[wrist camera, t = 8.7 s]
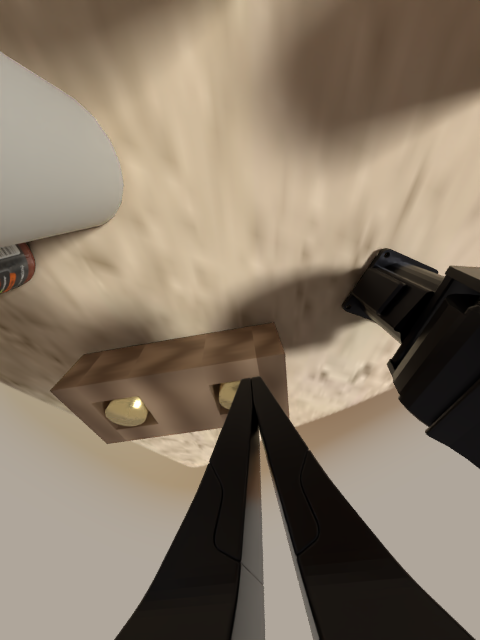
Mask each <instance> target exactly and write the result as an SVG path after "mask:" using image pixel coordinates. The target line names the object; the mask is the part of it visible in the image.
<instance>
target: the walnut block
mask: <svg viewBox="0 0 480 640" xmlns="http://www.w3.org/2000/svg"><path fill="white" fill-rule="evenodd" d="M256 376H260V377H261V378H262V379H263V381H264V382H265V384H266V385H267V387H268V388H269V390H270V391H271V393H272V394H273V396H274V397H275V399H276V400H277V402H278V403H279V405H280V406H281V408H282V409H283V411H284V412H285V414H286V415H287V417H288V418H289V405H288V391H287V377H286V362H285V352H284V350H283V347H282V344H281V341H280V338H279V335H278V332H277V329H276V327H275V324H274V322H273V323H267V324H261V325H255V326H249V327H243V328H238V329H232V330H226V331H220V332H214V333H208V334H202V335H196V336H190V337H184V338H178V339H172V340H166V341H161V342H155V343H149V344H143V345H137V346H131V347H125V348H119V349H113V350H107V351H101V352H95V353H90V354H84V355H83V356H82V357H81V358H80V359H79V360H78V361H77V362H76V363H75V364H74V366H73V367H72V368H71V369H70V370H69V371H68V372H67V373H66V374H65V375H64V376H63V377H62V378H61V380H60V381H59V382H58V383H57V384H56V385H55V386H54V387H53V388H52V389H51V390H50V391H51V392H52V393H53V394H54V395H55V396H56V397H57V398H58V399H59V400H60V401H61V402H62V403H64V404H65V405H66V406H67V407H68V408H69V409H70V410H71V411H72V412H73V413H74V414H75V415H76V416H78V417H79V418H80V419H81V420H82V421H83V422H84V423H85V424H86V425H87V426H88V427H89V428H90V429H92V430H93V431H94V432H95V433H96V434H97V435H98V436H99V437H101V439H102V440H104V441H105V442H106V443H107V444H110V443H117V442H124V441H131V440H138V439H145V438H152V437H160V436H167V435H174V434H181V433H188V432H195V431H202V430H210V429H217V428H222V427H223V425H224V422H225V419H226V417H227V414H228V412H229V409H226V408H225V407H223V406H222V405H221V404H220V402H219V386H220V383H226V382H232V381H239V380H241V379H243V378H252V377H256ZM135 396H139V397H140V399H141V400H142V401H143V403H144V404H145V406H146V407H147V408H148V410H149V412H148V414H147V417H146V420H145V421H144V422H143V423H142V424H140V425H137V426H122V425H119V424H116V423H114V422H112V421H110V420H109V419H108V418H107V417H106V415H105V410H106V408H107V407H108V405H109V403H110V402H111V400H115V399H122V398H128V397H135Z"/></svg>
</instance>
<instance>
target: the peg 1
mask: <svg viewBox="0 0 480 640" xmlns="http://www.w3.org/2000/svg"><path fill="white" fill-rule="evenodd" d="M148 412H149V410H148V408H147V407H146V406H145V404H144V403H143V401H142V400H141V399H140V397H139V396H135V397H128V398H122V399H115V400H111V402H110V403H109V405H108V407H107V408H106V410H105V415H106V417H107V418H108V419H109V420H110V421H112V422H114V423H116V424H119V425H122V426H137V425H140V424H142V423H143V422H144V421H145V420H146V417H147V414H148Z"/></svg>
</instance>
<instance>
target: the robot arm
mask: <svg viewBox="0 0 480 640" xmlns="http://www.w3.org/2000/svg"><path fill="white" fill-rule="evenodd" d="M385 253H387V255H386V256H384V255H385ZM445 274H446V276H445V277H444V276H441V275H439V274H438V271H437V270H436V269H434V268H431V267H429V266H427V265H425V264H422V263H420V262H418V261H416V260H414V259H411V258H409V257H407V256H405V255H402V254H400V253H398V252H396V251H393V250H391V249H388V248H385V249H382V250H381V251H380V252H379V254H378V255H377V257H376V258H375V259H374V261H373V262H372V264H371V265H370V266H369V268H368V269H367V271H366V272H365V273H364V275H363V276H362V278H361V279H360V280H359V282H358V283H357V285H356V286H355V288H354V289H353V290H352V292H351V293H350V295H349V296H348V297H347V299H346V300H345V302H344V303H343V305H342V308H343V309H344V310H345V311H347V312H350V313H352V314H355V315H358V316H361V317H364V318H367V319H370V320H373V321H375V322H376V323H377V324H378V325H380V326H381V327H382V328H383V329H384V330H385V331H387V332H388V333H389V334H390V335H391V336H392V337H393V338H395V339H396V340H397V341H398V342H399V343H400V344H401V345H400V347H399V348H398V350H397V352H396V353H395V355H394V356H393V358H392V359H390V360H389V361H388V363H387V366H388V368H389V370H390V373H391V375H392V377H393V383H394V385H395V387H396V389H397V391H398V393H399V394H400V396H399V398H398V399H399V400H400V402H401V403H402V404H403V405H404V406H405V408H406V409H407V410H408V411H409V412H410V413H411V414H413V415H414V416H415V417H416V418H417V419H418V420H419V421H421V422H422V423H424V424H425V425H426V426H428V427H429V428H428V429H426V431H425V433H426V434H427V435H428V436H429V437H431V438H433V439H435V440H437V441H439V442H441V443H443V444H445V445H446V446H448V447H450V448H451V449H453V450H454V451H456V452H457V453H459V454H461V455H462V456H464V457H465V458H466V459H468V460H469V461H470V462H472V463H473V464H474V465H475V466H477V467H478V468H479V469H480V267H464V266H449V268H448V269H447V271H446V273H445ZM348 305H349V306H348ZM347 306H348V307H347ZM346 307H347V308H346ZM259 430H260V434H261V439H262V442H263V446H264V450H265V454H266V458H267V462H268V466H269V470H270V473H271V477H272V481H273V485H274V488H275V493H276V497H277V501H278V504H279V508H280V512H281V516H282V519H283V524H284V527H285V531H286V535H287V539H288V543H289V546H290V551H291V555H292V558H293V562H294V566H295V570H296V574H297V578H298V581H299V586H300V589H301V593H302V597H303V601H304V605H305V609H306V612H307V616H308V621H309V624H310V628H311V632H312V636H313V640H475V639H474V638H473V637H472V636H471V635H470V634H469V633H468V632H467V631H466V630H465V629H464V628H463V627H462V626H461V625H460V624H459V623H458V622H457V621H456V620H454V619H453V618H452V617H451V616H450V615H449V614H448V613H447V612H446V611H445V610H444V609H443V608H442V607H441V606H440V605H439V604H438V603H437V602H436V601H435V600H434V599H432V598H431V596H430V595H428V594H427V593H426V592H425V591H424V590H423V589H422V588H421V587H420V586H419V585H418V584H417V583H416V581H415V580H413V578H412V577H411V576H410V575H409V574H408V573H407V572H406V571H405V570H404V569H403V568H402V566H401V565H400V564H399V563H398V562H397V561H396V560H395V558H394V557H393V556H392V555H391V554H390V553H389V551H388V550H387V549H386V548H385V547H384V545H383V544H382V543H381V542H380V541H379V539H378V538H377V537H376V536H375V534H374V533H373V532H372V531H371V529H370V528H369V527H368V526H367V525H366V523H365V522H364V521H363V520H362V518H361V517H360V516H359V515H358V514H357V512H356V511H355V510H354V509H353V507H352V506H351V505H350V504H349V503H348V501H347V500H346V499H345V498H344V496H343V495H342V494H341V493H340V491H339V490H338V489H337V487H336V486H335V485H334V484H333V482H332V481H331V480H330V478H329V477H328V476H327V474H326V473H325V471H324V470H323V468H322V467H321V466H320V464H319V463H318V461H317V460H316V458H315V457H314V455H313V454H312V452H311V451H310V450H309V449H308V447H307V445H306V444H305V442H304V441H303V439H302V438H301V436H300V435H299V433H298V432H297V430H296V429H295V427H294V426H293V424H292V423H291V421H290V420H289V418H288V417H287V415H286V414H285V412H284V411H283V409H282V408H281V406H280V405H279V403H278V402H277V400H276V399H275V397H274V396H273V394H272V393H271V391H270V390H269V388H268V387H267V385H266V384H265V382H264V381H263V379H262V378H261V377H260V376H256V377H252V378H243V379H241V381H240V383H239V386H238V389H237V391H236V394H235V396H234V399H233V401H232V404H231V407H230V409H229V412H228V414H227V417H226V419H225V422H224V425H223V427H222V430H221V432H220V435H219V437H218V440H217V443H216V445H215V448H214V450H213V453H212V455H211V458H210V461H209V462H210V463H209V464H208V465H207V468H206V471H205V473H204V476H203V478H202V480H201V483H200V485H199V488H198V490H197V493H196V495H195V497H194V499H193V501H192V503H191V505H190V508H189V510H188V512H187V514H186V516H185V518H184V520H183V522H182V524H181V526H180V528H179V530H178V532H177V534H176V536H175V538H174V540H173V542H172V544H171V546H170V548H169V550H168V552H167V554H166V556H165V558H164V560H163V562H162V564H161V566H160V568H159V570H158V572H157V574H156V576H155V578H154V580H153V582H152V584H151V585H150V587H149V589H148V591H147V592H146V594H145V596H144V597H143V599H142V601H141V602H140V604H139V605H138V607H137V609H136V610H135V611H134V613H133V614H132V616H131V617H130V619H129V620H128V621H127V623H126V624H125V626H124V627H123V628H122V630H121V631H120V633H119V634H118V635H117V637H116V638H115V639H114V640H265V619H264V586H263V549H262V512H261V478H260V477H261V476H260V439H259Z"/></svg>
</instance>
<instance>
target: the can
mask: <svg viewBox="0 0 480 640" xmlns="http://www.w3.org/2000/svg"><path fill="white" fill-rule="evenodd" d="M123 186H124V184H123V178H122V171H121V165H120V162H119V159H118V157H117V155H116V152H115V150H114V147H113V145H112V142H111V140H110V139H109V137H108V136H107V134H106V133H105V132H104V130H103V129H102V127H101V126H100V124H99V123H98V121H97V120H96V118H95V117H94V116H93V115H92V114H90V113H89V112H88V111H87V110H86V109H85V108H84V107H83V106H82V105H81V104H80V103H79V102H78V101H77V100H76V99H75V98H73V97H71V96H70V95H68V94H67V93H65V92H64V91H62V90H60V89H59V88H57V87H56V86H54V85H52V84H51V83H49V82H48V81H46V80H45V79H43V78H41V77H40V76H38V75H37V74H35V73H33V72H32V71H30V70H29V69H27V68H26V67H24V66H22V65H21V64H19V63H18V62H16V61H14V60H13V59H11V58H10V57H8V56H7V55H5V54H3V53H2V52H0V248H2V247H6V246H11V245H15V244H20V243H24V242H29V241H33V240H38V239H42V238H47V237H51V236H56V235H60V234H65V233H69V232H74V231H78V230H83V229H87V228H92V227H96V226H100V225H103V224H105V223H106V222H107V221H109V220H110V219H111V218H113V217H114V216H115V214H116V212H117V210H118V208H119V206H120V204H121V202H122V194H123Z"/></svg>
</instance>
